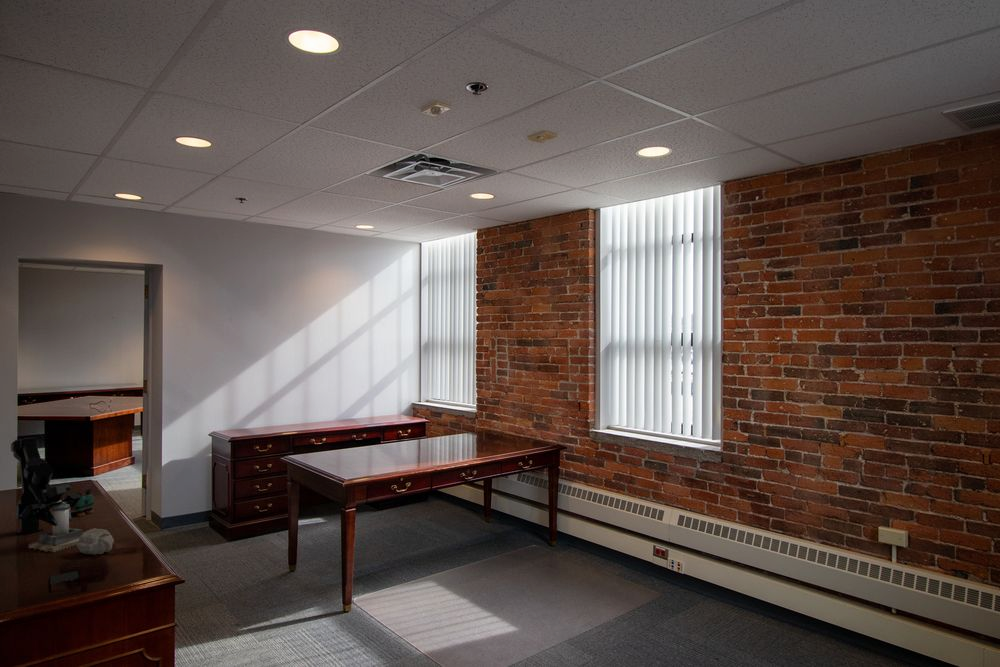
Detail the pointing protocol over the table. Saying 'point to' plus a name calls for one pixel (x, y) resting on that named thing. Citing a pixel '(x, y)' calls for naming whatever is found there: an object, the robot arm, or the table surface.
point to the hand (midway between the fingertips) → (63, 523)
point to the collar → (56, 540)
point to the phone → (63, 577)
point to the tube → (61, 519)
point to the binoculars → (84, 504)
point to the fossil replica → (95, 541)
